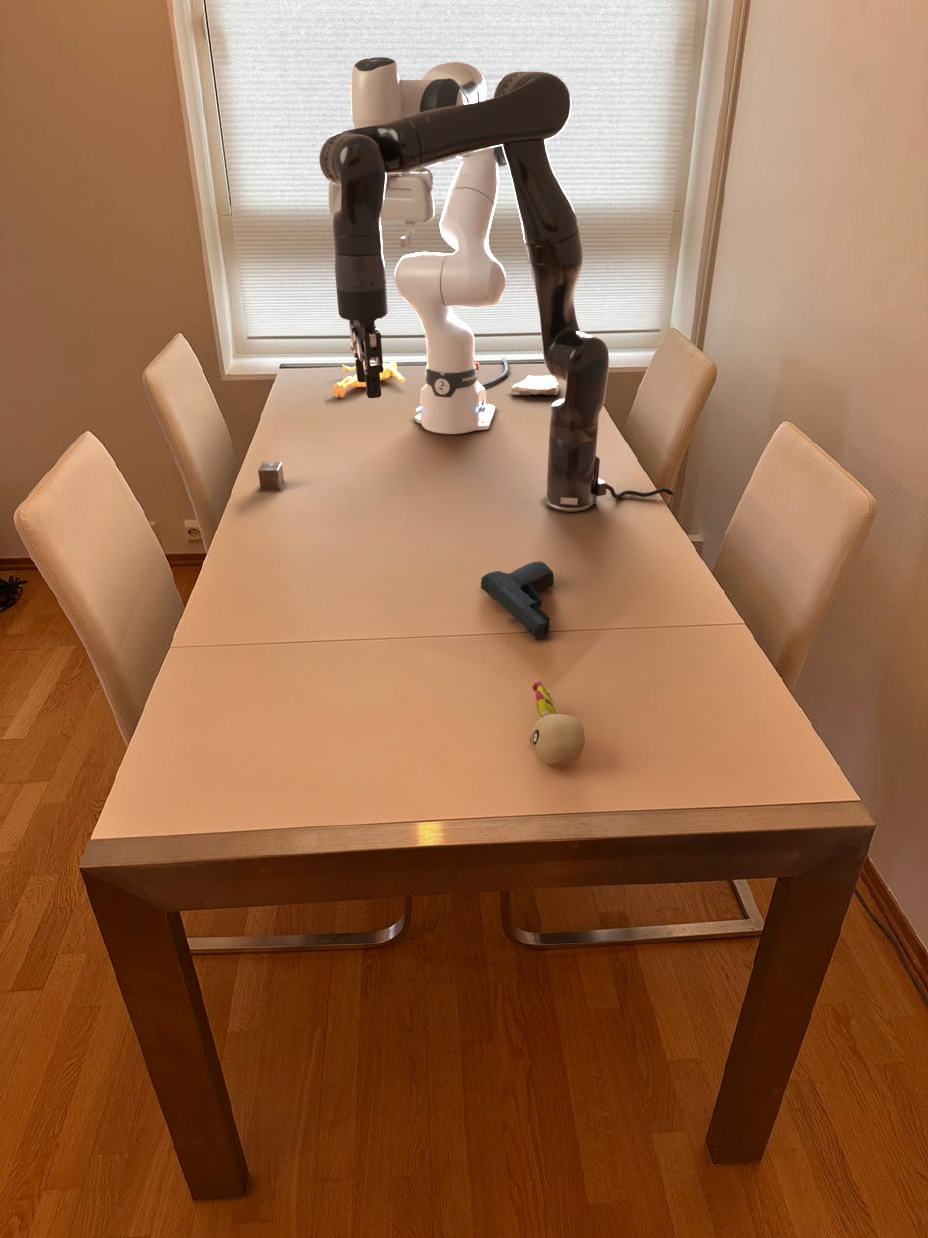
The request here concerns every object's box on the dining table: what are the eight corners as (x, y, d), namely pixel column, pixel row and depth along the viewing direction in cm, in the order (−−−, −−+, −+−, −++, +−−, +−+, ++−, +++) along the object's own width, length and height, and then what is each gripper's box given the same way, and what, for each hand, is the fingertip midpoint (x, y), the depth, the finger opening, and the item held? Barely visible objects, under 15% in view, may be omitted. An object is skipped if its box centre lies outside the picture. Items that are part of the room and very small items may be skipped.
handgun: (595, 623, 140) (530, 643, 135) (537, 573, 153) (475, 590, 148) (597, 606, 138) (530, 625, 134) (538, 557, 151) (476, 573, 147)
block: (260, 491, 184) (257, 470, 181) (265, 482, 188) (262, 462, 185) (280, 491, 184) (277, 470, 181) (284, 482, 187) (281, 462, 185)
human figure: (402, 372, 253) (401, 358, 251) (409, 392, 236) (408, 377, 234) (333, 377, 251) (331, 363, 249) (335, 398, 234) (333, 382, 232)
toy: (510, 684, 120) (525, 756, 108) (557, 660, 119) (578, 730, 106) (530, 713, 123) (547, 787, 110) (577, 690, 122) (599, 762, 109)
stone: (553, 399, 232) (554, 389, 231) (509, 395, 235) (509, 385, 234) (564, 385, 243) (564, 375, 241) (521, 381, 246) (522, 372, 244)
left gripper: (439, 163, 160) (440, 246, 167) (337, 160, 166) (343, 240, 174) (425, 167, 155) (427, 252, 162) (321, 163, 161) (327, 245, 169)
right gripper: (395, 291, 130) (401, 400, 138) (376, 272, 141) (382, 374, 150) (344, 295, 128) (353, 405, 137) (329, 276, 139) (338, 378, 148)
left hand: (383, 246), depth 168 cm, fingers open, 8 cm apart
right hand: (368, 389), depth 143 cm, fingers open, 8 cm apart
